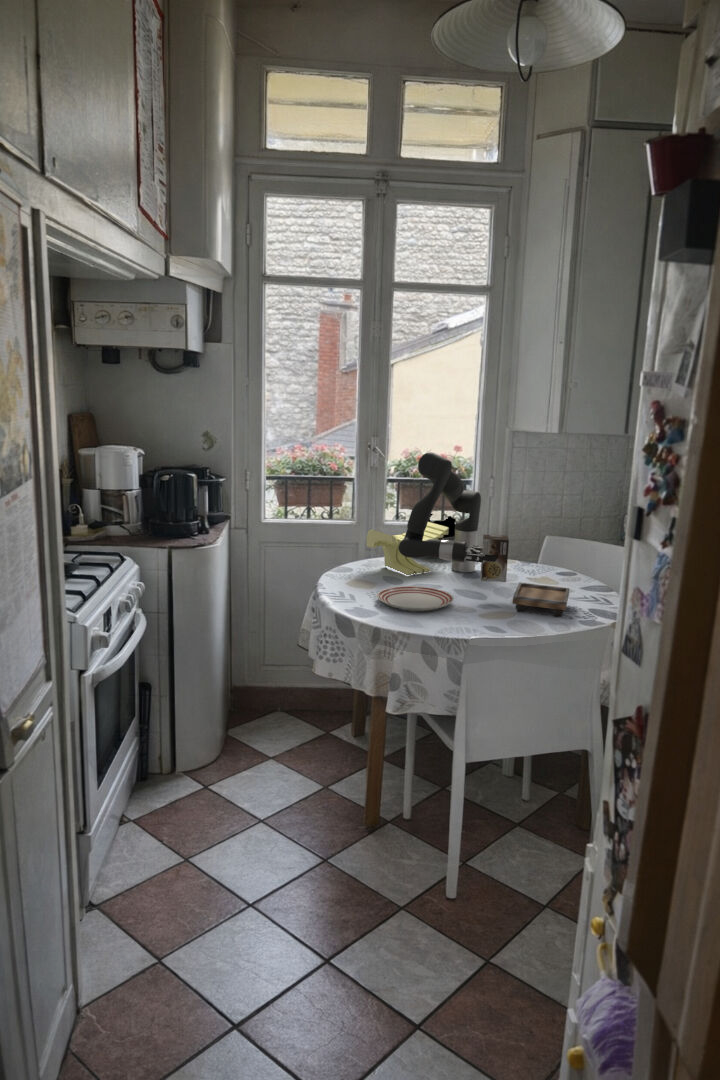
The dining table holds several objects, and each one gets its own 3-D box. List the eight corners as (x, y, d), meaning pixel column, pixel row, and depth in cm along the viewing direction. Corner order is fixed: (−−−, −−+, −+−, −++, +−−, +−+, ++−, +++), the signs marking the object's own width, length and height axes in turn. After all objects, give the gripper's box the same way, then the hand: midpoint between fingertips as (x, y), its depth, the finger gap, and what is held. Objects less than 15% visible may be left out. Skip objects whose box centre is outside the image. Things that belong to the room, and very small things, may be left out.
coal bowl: (401, 553, 355) (403, 511, 350) (434, 547, 367) (436, 507, 362) (431, 563, 339) (434, 520, 335) (465, 557, 351) (468, 515, 347)
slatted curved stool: (420, 560, 344) (422, 520, 339) (446, 569, 331) (448, 527, 327) (365, 570, 326) (367, 527, 322) (390, 579, 313) (392, 535, 309)
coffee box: (504, 577, 294) (508, 535, 290) (506, 582, 288) (509, 539, 284) (479, 576, 295) (483, 533, 291) (480, 581, 289) (484, 538, 285)
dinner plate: (364, 596, 292) (364, 587, 292) (430, 589, 303) (431, 581, 302) (396, 620, 268) (397, 610, 267) (467, 612, 279) (468, 603, 278)
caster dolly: (511, 612, 279) (513, 596, 278) (518, 597, 296) (519, 582, 295) (564, 619, 274) (566, 602, 273) (567, 604, 291) (569, 588, 290)
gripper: (449, 545, 286) (495, 550, 281) (457, 536, 299) (501, 541, 295) (448, 565, 288) (493, 571, 283) (456, 555, 301) (499, 560, 297)
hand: (497, 555), depth 289 cm, fingers closed on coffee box, 7 cm apart
